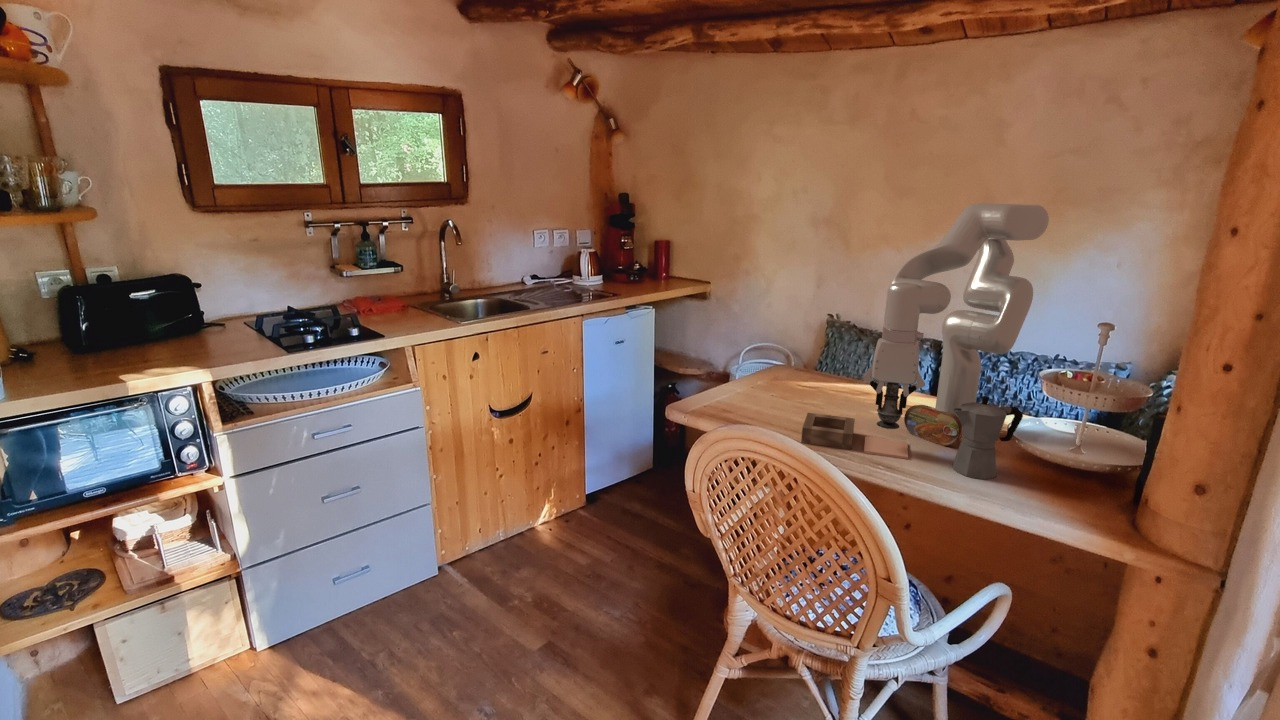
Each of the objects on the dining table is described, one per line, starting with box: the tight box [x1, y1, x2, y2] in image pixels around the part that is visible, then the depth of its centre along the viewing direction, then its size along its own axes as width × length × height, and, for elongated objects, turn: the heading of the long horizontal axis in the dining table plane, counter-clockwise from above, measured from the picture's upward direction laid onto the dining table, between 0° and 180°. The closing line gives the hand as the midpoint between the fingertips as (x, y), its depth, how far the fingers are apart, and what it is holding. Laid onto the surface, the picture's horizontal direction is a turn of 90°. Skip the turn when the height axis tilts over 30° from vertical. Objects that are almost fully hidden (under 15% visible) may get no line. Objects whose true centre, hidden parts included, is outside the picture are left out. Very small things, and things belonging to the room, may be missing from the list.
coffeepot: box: [952, 395, 1024, 480], centre depth 145 cm, size 15×9×18 cm, turn 90°
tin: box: [903, 404, 963, 446], centre depth 165 cm, size 15×3×8 cm, turn 33°
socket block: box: [800, 412, 856, 451], centre depth 165 cm, size 12×12×4 cm
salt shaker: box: [876, 382, 903, 430], centre depth 156 cm, size 6×6×12 cm
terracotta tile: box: [863, 436, 909, 460], centre depth 159 cm, size 10×10×1 cm
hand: (890, 408), depth 157 cm, fingers closed on salt shaker, 4 cm apart
